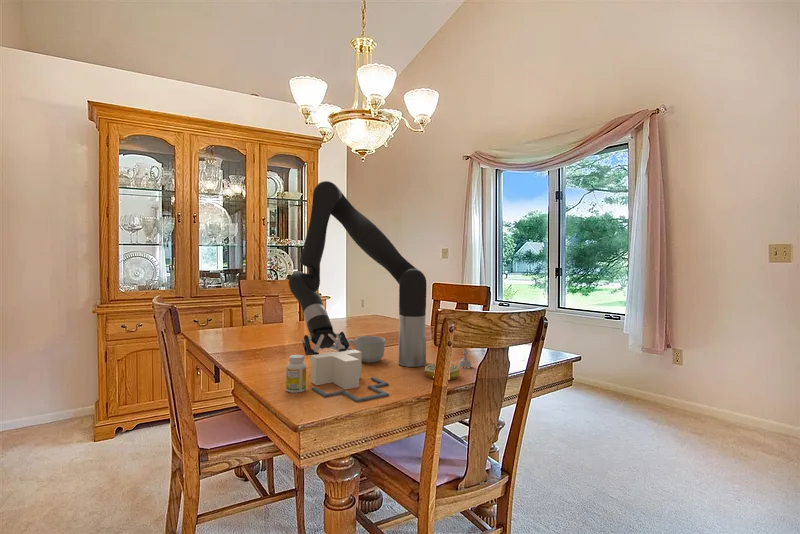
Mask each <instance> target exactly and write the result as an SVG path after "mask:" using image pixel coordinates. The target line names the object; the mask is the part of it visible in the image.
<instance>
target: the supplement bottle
mask: <svg viewBox="0 0 800 534" xmlns="http://www.w3.org/2000/svg"><path fill="white" fill-rule="evenodd" d="M304 357H305V355H303V354H292V355H289V357H288V361H289V362H288V364H287V365H286V371H285V372H286V374H285V375H286V380H285V381H286V382H285V383H286V386H285V390H286V392H288V393H292V394H293V393H294V394H297V393H298V392H299V393H303V392H304V391H306V389H307V386H306V385H307V384H306V382H307V365H306V363H305V362H304V360H305V358H304Z"/></svg>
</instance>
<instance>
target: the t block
mask: <svg viewBox="0 0 800 534" xmlns="http://www.w3.org/2000/svg"><path fill="white" fill-rule="evenodd" d="M361 359H362V352H360V351H357V350H355V349H352V350H347V351H341V352H338V351H333V352H327V353H319V354H317V355H310V383H312V384H313V385H314V386H320V385H327V384H335V385H336V386H338V387H340V388H341V389H343V390H350V389H356V388H359V387H360V379H361V378H362V361H361ZM332 382H333V383H332ZM326 383H327V384H326Z"/></svg>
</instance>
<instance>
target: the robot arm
mask: <svg viewBox="0 0 800 534" xmlns="http://www.w3.org/2000/svg"><path fill="white" fill-rule="evenodd" d="M312 191H313V192H312V204H311V213H310V218H309V223H308V229H307V232H306V235H305V239H304V243H303V246H302V251H301V254H300V258H299V262H300V264H301V265H302V266H303V267H306V268H307V273H306V272H302V271H295V272H293V273H291V275H290V276H289V279H288V287H289V290H290V291H291V293H292V294H293V297H294V298H295V299H296V300H297V302H298V303H299V304H300V307H301V309H302V313H303V317H304V322H305V324H306V327H307V330H308V333H309V335H307V334H304V335H303V338H302V340H301V342H302V346H303V350H304V354H305V355H306V356H307V357H308V356H311V355H317V354H320V353H319V352H318V351H319V349H321V350H323V349H332V350H335V351H336V352H341V351H348V347H349V348H350V343H348V338H347V337H346V335H345V333H344V331H340V332H339V333H335V332H334V329H333V325H332V323H331V320H330V317H329V315H328V312H327V310H326V307H325V305H324V303H323V301H322V297H321V296H320V294H318V292H317V291H318V290H319V288H320V285H321V261H322V258H323V254H324V250H325V245H326V238H327V230H328V224H329V220H330V218H331V216H332V217H334V219H336V221H338V222H339V223H340V224H341V225H342V227H343V228H344V230H345V231H346V232H347V234H348V235H349V237H350V238H351V239H352V240H353V241H354V243H355V244H356V245H357V246H358V247H359V248H360V249H361V250H362V251H363V252H364V253H365V254H366V255H367V256H368V257H370V258H371V260H373V261H374V262H376V263H377V264H379V265H380V266H381V267H383V268H384V269H385V270H386V271H387V272H388V273H389V274H390V275H391V276H392V277H393V278H394V280H395V281H396V283H398V285H399V287H398V288H399V289H398V292H399V294H398V296H399V297H398V299H399V300H398V317H399V318H398V365H399V366H401V367H408V368H417V367H422V366H423V367H426V366H427V337H426V319H427V318H426V310H427V279H426V276H425V274H424V273H423V272H422V271H421V270H420V269H418V268H417V267H415V266H413V264H411V263H410V262H409V260H407V259H406V258H405V257H403V256H402V254H401V253H400V252H399V251H398V249H397V248H396V247H395V246H394V244H393V243H392V242H391V241H390V240H389V238H388V237H387V236H386V234H385V233H383V231H382V230H381V229H379V227H378V226H377V225H376V224H374V223H373V221H371V220H370V219H369V218H368V217H366V216H365V215H363V213H361V212H360V211H359V210H357V209H356V208H355V206H353V204H352V203H351V202H350V201H349V200H348V199H347V197H346V196H345V195H344V194H343V192H342V190H341V189H340V187H338V186H337V185H336V184H335V183H333V182H331V181H327V180H326V181H321V182H319V183H317V185H316V186H315V187H314V189H313V190H312ZM311 342H312V343H313V344H314V347H313V349H312V347H311Z"/></svg>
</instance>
